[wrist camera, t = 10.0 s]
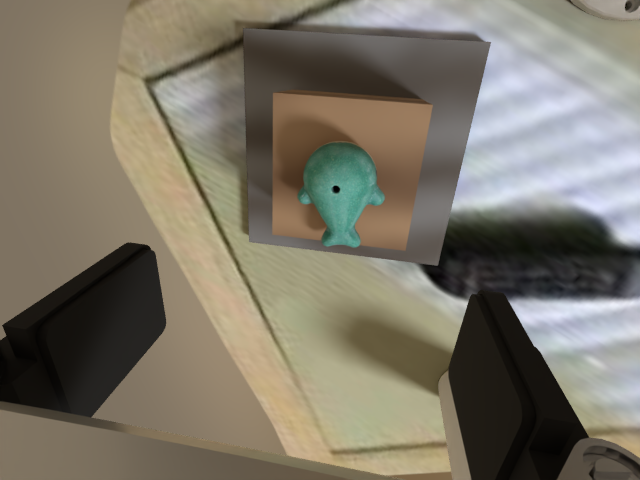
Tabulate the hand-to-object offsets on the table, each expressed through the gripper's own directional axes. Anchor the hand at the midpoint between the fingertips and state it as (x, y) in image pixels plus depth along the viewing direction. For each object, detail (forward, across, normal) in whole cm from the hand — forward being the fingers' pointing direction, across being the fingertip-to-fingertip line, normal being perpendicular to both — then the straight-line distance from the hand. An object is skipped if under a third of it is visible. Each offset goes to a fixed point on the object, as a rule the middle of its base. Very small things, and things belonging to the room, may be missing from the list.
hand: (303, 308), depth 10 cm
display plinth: (+22, 0, 0) cm, 22 cm away
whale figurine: (+15, 0, +1) cm, 15 cm away
